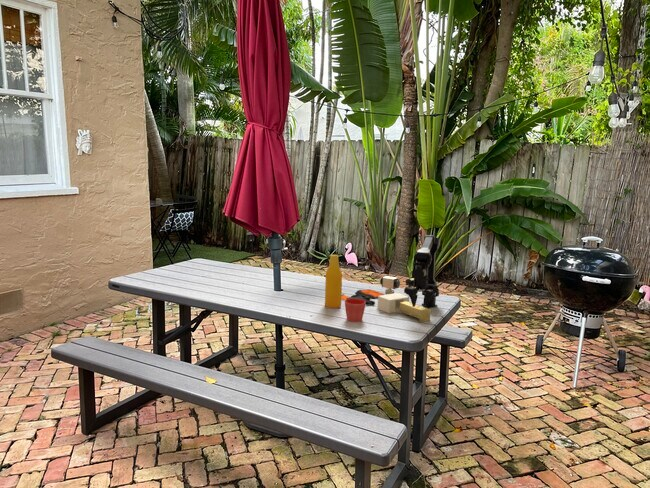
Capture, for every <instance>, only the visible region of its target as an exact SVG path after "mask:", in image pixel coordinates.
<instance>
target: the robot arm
mask: <svg viewBox="0 0 650 488" xmlns="http://www.w3.org/2000/svg"><path fill="white" fill-rule="evenodd" d="M440 245H441V239H440V238H439V237H437V236H435V235H431V234H426V235H424V237H423V242H422V246H421V248H419V249H417V251H416V252H415V254H414V258H413V264H412V265H413V266H415V268H414V269H413V271H412V277H413V279H411V278H407V279H405V288H404V289H403V293H404V294H406V296H408V297H409V300H410V301H411V302H410V303H412V305H413V307H415V305H417V304H416V303H417V300H418V292H421V295H422V296H423V303H421V305H422V306H424V307H425V308H433V307H438V304H436V301H437V300H436V299H437V297H440V290H439V287H438V282H437V280H436V278H435V274H436V273H435V272H436V271H435V270H436V254H437V251H438V250H439V248H440ZM406 286H407V287H406Z"/></svg>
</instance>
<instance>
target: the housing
mask: <svg viewBox="0 0 650 488" xmlns="http://www.w3.org/2000/svg"><path fill="white" fill-rule="evenodd" d="M406 301H407V302H410V297H409V295H405V294H401V293H399V292H394V293H393V294H387V295H386V294H385V295H381V296H378V299H377V309H378V310H381V311H383V312H386V313H387V314H391V313H392V314H393V313H398V312H400V311H399V308H400V302H406Z"/></svg>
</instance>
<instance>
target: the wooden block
mask: <svg viewBox="0 0 650 488" xmlns="http://www.w3.org/2000/svg"><path fill="white" fill-rule="evenodd" d="M431 308H432V307H425V306H424V307H423V306H420V305H418V304H416V305H415V307H413V305H412V302H410V301H409V302H407V301H406V302H400V308H399V311H398V312H400V313H404V314H406V315H408V316H410V317H414V318H417V319H418V320H419V321H420V323H422V322H423V323H424V322H428V321H430V320H431V311H432V309H431Z"/></svg>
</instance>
